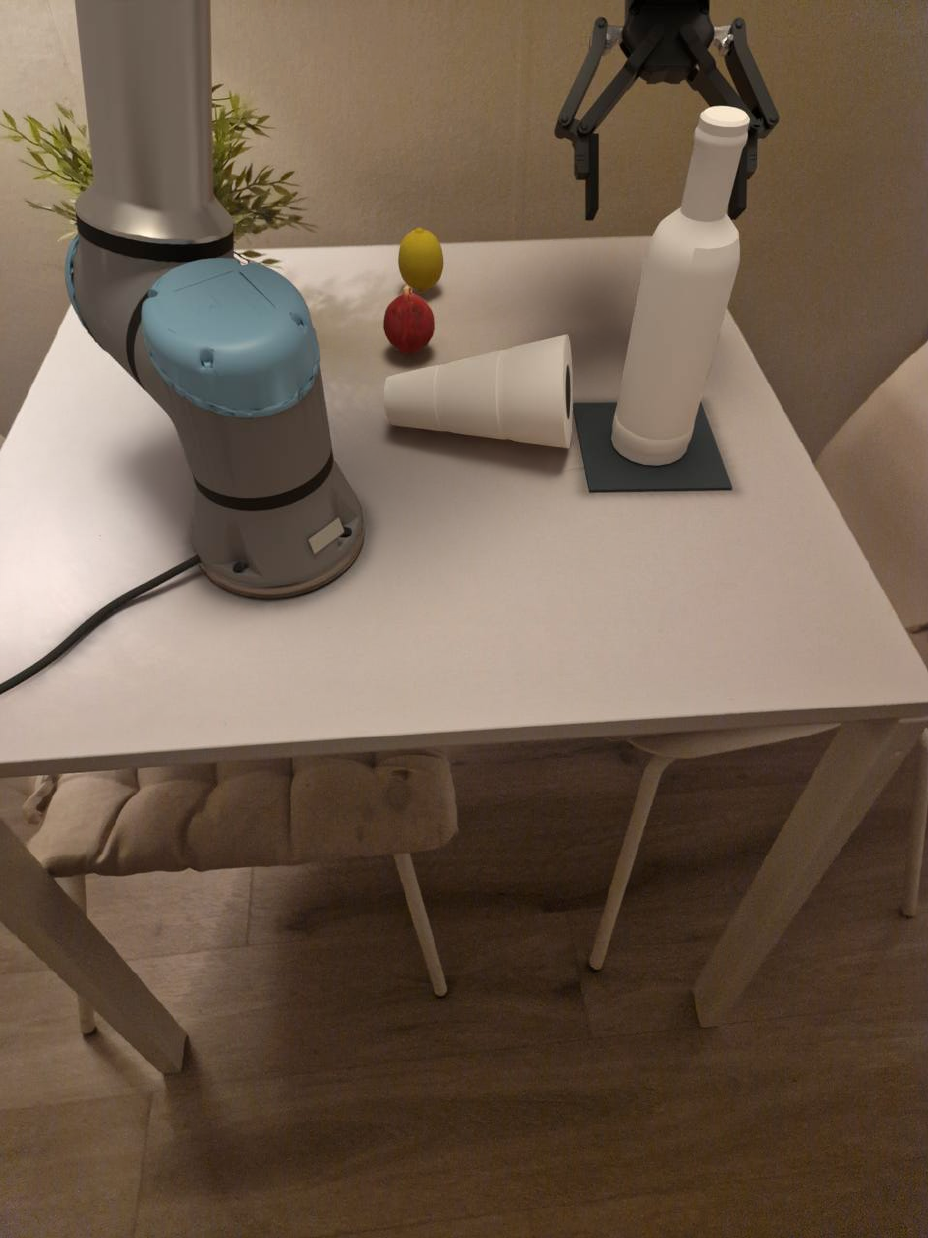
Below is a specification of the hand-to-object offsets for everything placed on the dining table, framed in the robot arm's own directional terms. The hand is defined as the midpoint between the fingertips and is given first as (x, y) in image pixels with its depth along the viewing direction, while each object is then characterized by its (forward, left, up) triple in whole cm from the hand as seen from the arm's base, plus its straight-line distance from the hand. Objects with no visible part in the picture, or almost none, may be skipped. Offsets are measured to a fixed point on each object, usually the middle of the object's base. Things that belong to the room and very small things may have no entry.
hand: (664, 214), depth 74 cm
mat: (-4, -9, -19) cm, 21 cm away
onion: (-19, +17, -19) cm, 32 cm away
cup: (-27, +5, -15) cm, 31 cm away
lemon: (-12, +29, -19) cm, 36 cm away
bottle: (-4, -9, -18) cm, 21 cm away
